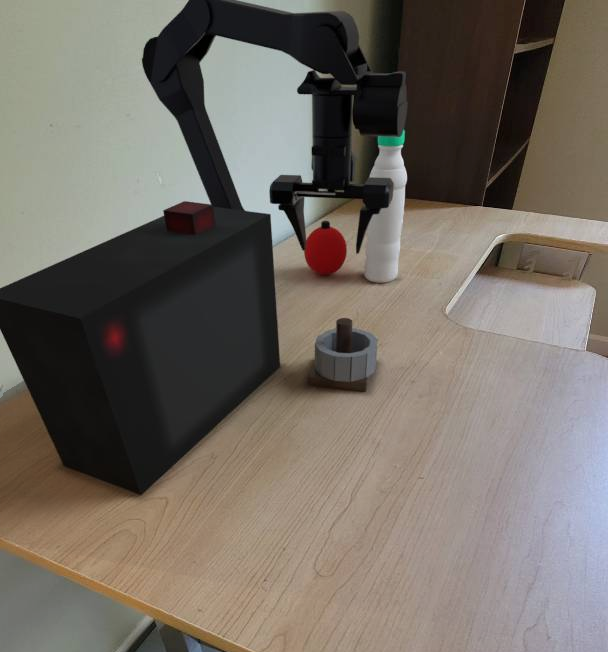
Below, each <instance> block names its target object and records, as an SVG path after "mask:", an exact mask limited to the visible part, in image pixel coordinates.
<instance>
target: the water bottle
mask: <svg viewBox="0 0 608 652" xmlns="http://www.w3.org/2000/svg"><path fill="white" fill-rule="evenodd" d="M405 137H406V131H405V129H404V130H403V133H402V135H401V137H384V136H377V144H378V145H377V147H378V149H379V153H378V156H377V157H376V159H375V161H374V165H373V167H372V169H371V170H370V173H369V177H373V178H391V180H392V181H393V183H394V188H393V199H392V201H391V203H390V205H389V207H388V208H382V209H381V211H380V213H379V214H373V216H372V218H371V220H370V222H369V225H368V228H367V231H366V241H365V252H364V253H365V260H364V266H363V268H364V269H363V275H364V277H365V279H366V280H368V281H369V282H373V283H377V284H378V283H381V284H382V283H389V282H391V281H392V282H393V281H394V280H395V279H396V278H397V277H398V275H399V257H400V252H401V235H402V231H403V221H404V213H405V201H406V200H405V199H406V185H407V182H408V174H407V169H406V167H405V163H404V159H403V156H402V149H403V147H404V143H405Z"/></svg>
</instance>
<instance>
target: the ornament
mask: <svg viewBox="0 0 608 652" xmlns="http://www.w3.org/2000/svg"><path fill="white" fill-rule="evenodd" d="M347 246H348V245H347V241H346V239H345V236H343V234H342V233H341V231H339V230H338V229H337V228H334V227H333V226H331V222H330V221H329V220H322V221H321V223H320V226H319V227H316V228H315V229H314V230H312V231H311V232H310V234H309V235H308V236H307V237H306V250H305V251H303V253H304V255H303V256H304V259H305V262H306V264H307V266H308V267H309V269H310V270H312V271H313V272H314V273H316V274H318V275H321V276H330V275H333V274H335V273H336V272H338V271H339V270H340V269H341V268H342V266H343V265H344V263H345V261H346V258H347V253H348V247H347Z"/></svg>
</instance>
